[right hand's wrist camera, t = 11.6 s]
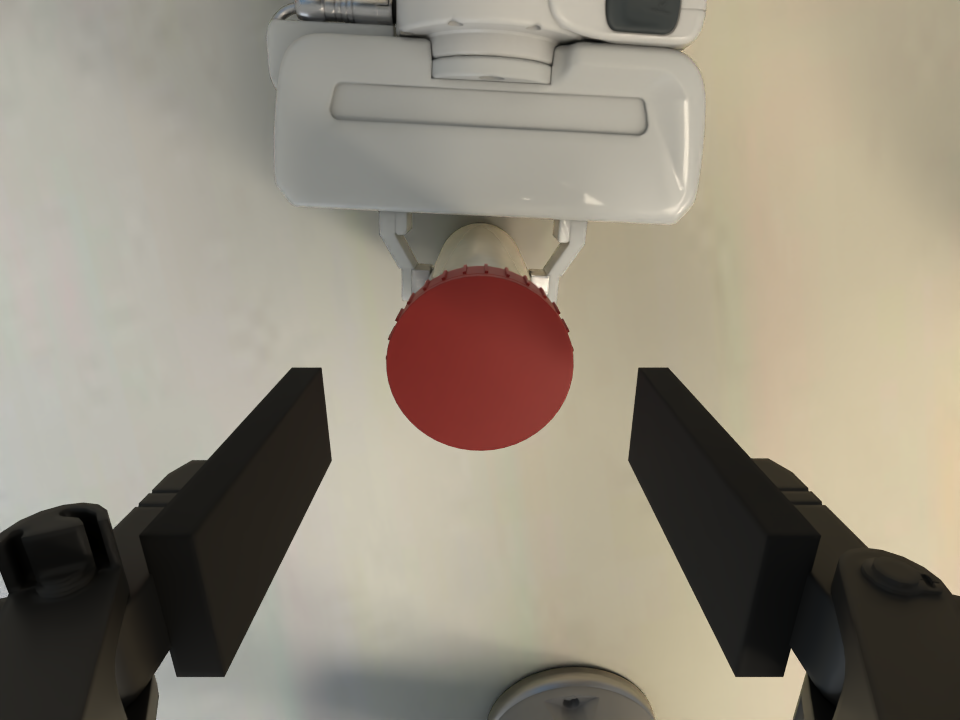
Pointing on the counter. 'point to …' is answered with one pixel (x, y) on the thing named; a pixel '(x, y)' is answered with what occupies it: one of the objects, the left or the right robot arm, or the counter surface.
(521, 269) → the jar
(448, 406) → the lid
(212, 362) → the counter surface
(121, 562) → the right robot arm
